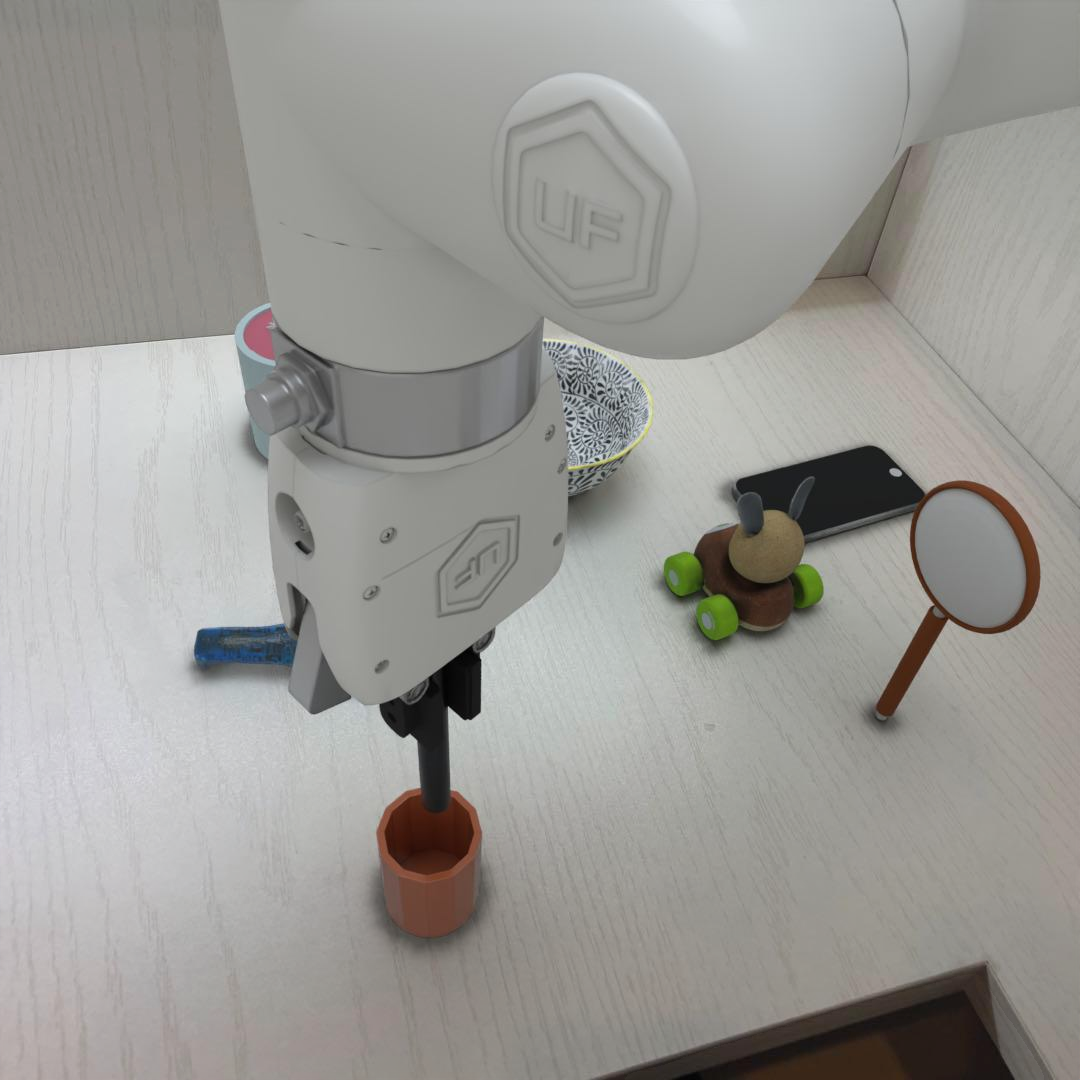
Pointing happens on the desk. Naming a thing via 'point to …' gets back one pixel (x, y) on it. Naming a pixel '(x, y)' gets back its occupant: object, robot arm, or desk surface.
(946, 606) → the magnifying glass
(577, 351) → the bowl
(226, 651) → the figurine
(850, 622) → the desk surface
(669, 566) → the toy car
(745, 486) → the smartphone
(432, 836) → the pen pot
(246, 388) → the mug
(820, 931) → the desk surface
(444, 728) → the stylus
